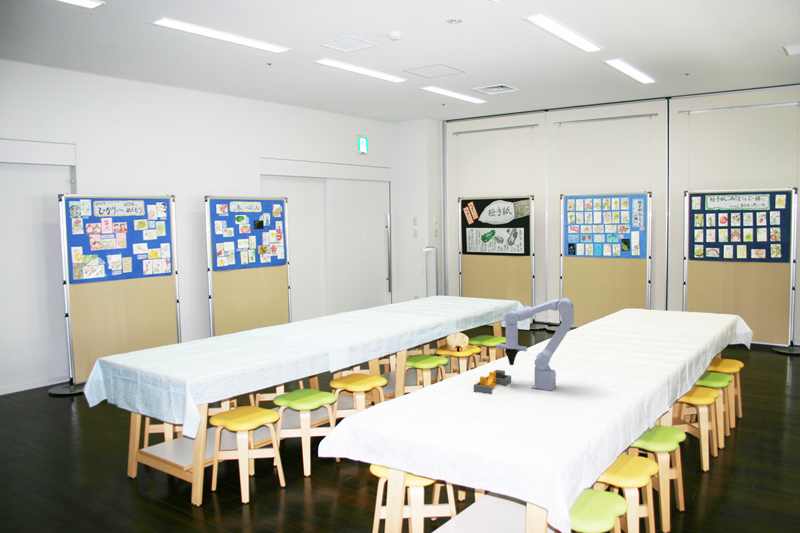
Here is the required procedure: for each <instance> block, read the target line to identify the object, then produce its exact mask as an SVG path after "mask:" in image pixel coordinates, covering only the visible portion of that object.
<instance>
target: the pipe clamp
mask: <svg viewBox="0 0 800 533" xmlns="http://www.w3.org/2000/svg"><path fill="white" fill-rule="evenodd" d="M488 376H489V378H488V381H487V377H488ZM488 376H484V375H483V376H480V377H479V381H480V385H481V386H488V387H492V390H494V389H495V386H497V384H496V372H494V371H491V370H490V372H489V374H488Z"/></svg>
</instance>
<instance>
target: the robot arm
mask: <svg viewBox="0 0 800 533" xmlns="http://www.w3.org/2000/svg"><path fill="white" fill-rule="evenodd" d="M574 308H575V307H574V305H573V302H572V300H571V299H570V298H569V297H561V298H557V299H552V300H549V301H546V302H544V303H541V304H538V305H535V306H529V305H523V306H522V307H520V308H518V309H517V308H516V309H513V310H511V311H508V312H507V313H506V314H505V316H504V321H505V343H497V344H496V349H501V350H504V352H505V354H506V357H507V359H508V362H509V365H510V366H513V365H514V364H515V359H516V357H517V355H518V353H519V351H521V352H522V351H523V352H527V351H528V346H524V345H520V344H518V343H519V342H518V341H519V338H518V337H519V331H518V330H519V327H518V322H523V321H525V320H528V319H531V318H533V317H534V315H536V314H539V313H542V312H546V311H549V310H552V311H555V312H556V311H558V312H559V314H560V315H561V319H562V321H561V323H560V325H559V326H558V328H557V329H556V330H555V332H554V334H553V336H552V337H551V338H550V340H549V341H548V343H547V344H546V345H545V347H544V348H543V350H542V351H541V352H540V353H538V354H537V356H536V357H535V360H534V384H533V385H532V386H531V389H539V390H544V391H553V390H554V389H555V388H556V387H557V385H556V384H557V382H556V381H557V379H556V376H557V373H556V370H554V369H552V368H551V367H550V365H549V363H550V361H551V359H552V357H553V355H554V353H555V352H556V350H557V349H558V347H559V346H560V344H561V343H562V341H563V340H564V338H565V336H566V335H567V333H568V332H569V331H570V329H571V327H572V326H573V324H574V323H575V313H574V312H575V309H574Z"/></svg>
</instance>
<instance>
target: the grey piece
mask: <svg viewBox="0 0 800 533" xmlns="http://www.w3.org/2000/svg"><path fill="white" fill-rule="evenodd" d="M493 372H496V386H497V385H498V386H508V384H510V383H512V375H510V374H509V375H508V374H506V370H501V369H495V370H494V371H493ZM486 377H487V381H488V378H489V375H488V376H486ZM473 392H475V393H483V394H488V395H489V394H490V395H492V394H493V389H492V387H488V386H481V385H480V380H479V381H477V382H475V383H474V384H473Z"/></svg>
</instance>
